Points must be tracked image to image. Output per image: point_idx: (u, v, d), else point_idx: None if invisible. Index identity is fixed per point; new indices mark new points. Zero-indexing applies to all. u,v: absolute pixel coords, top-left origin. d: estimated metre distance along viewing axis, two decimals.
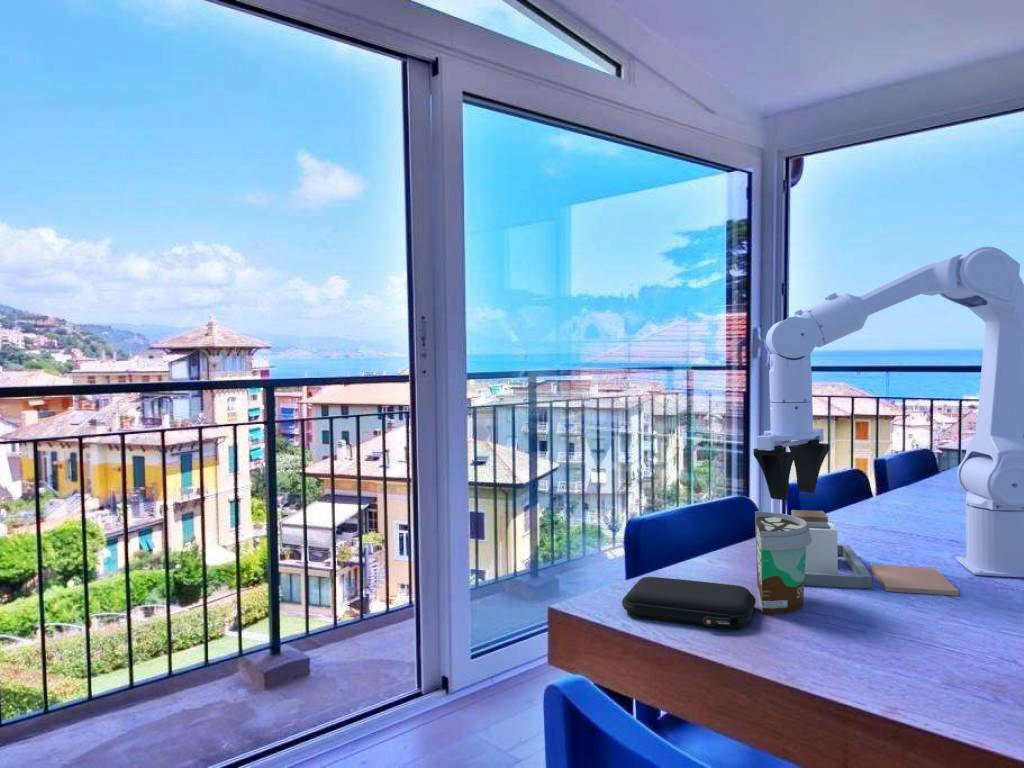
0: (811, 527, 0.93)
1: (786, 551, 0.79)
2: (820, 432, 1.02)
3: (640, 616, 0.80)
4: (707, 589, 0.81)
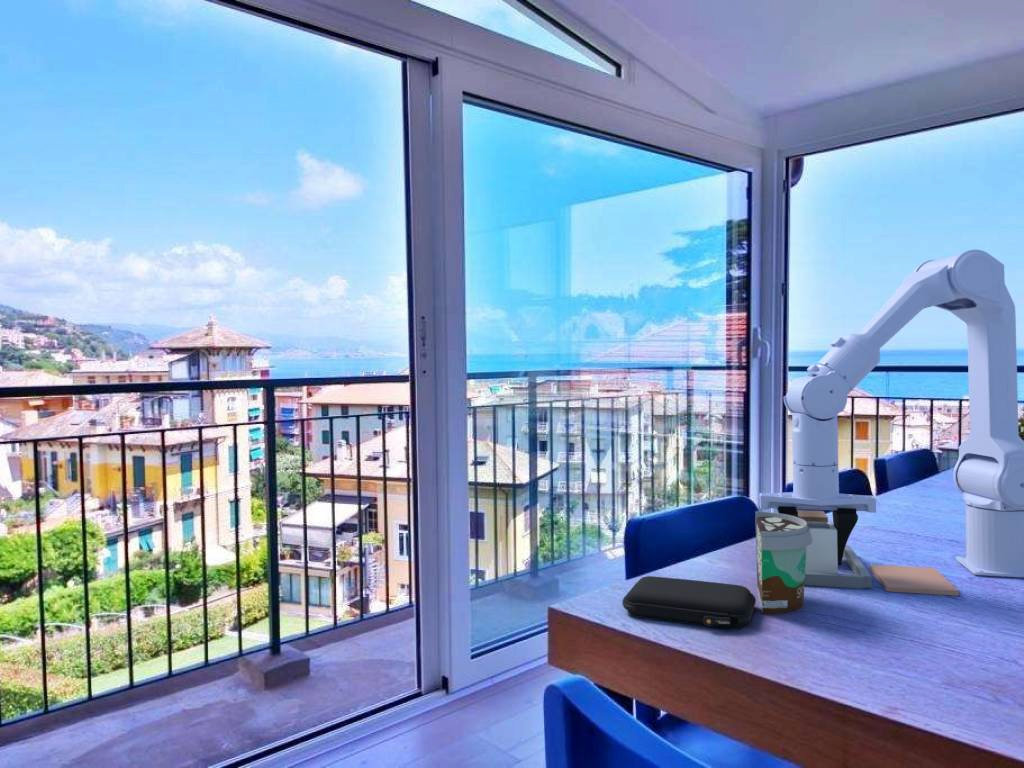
0: (811, 527, 0.93)
1: (786, 551, 0.79)
2: (866, 501, 0.91)
3: (640, 616, 0.80)
4: (707, 589, 0.82)
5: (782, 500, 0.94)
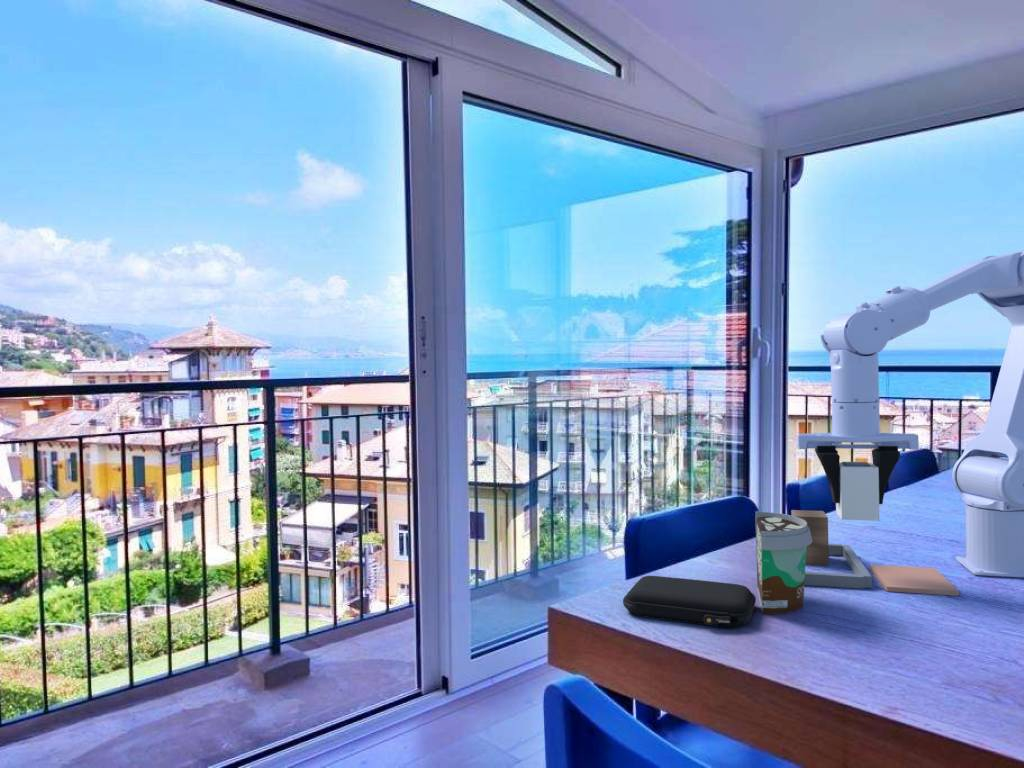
0: (851, 465, 0.91)
1: (786, 551, 0.79)
2: (908, 438, 0.89)
3: (641, 615, 0.81)
4: (707, 588, 0.82)
5: (821, 439, 0.92)
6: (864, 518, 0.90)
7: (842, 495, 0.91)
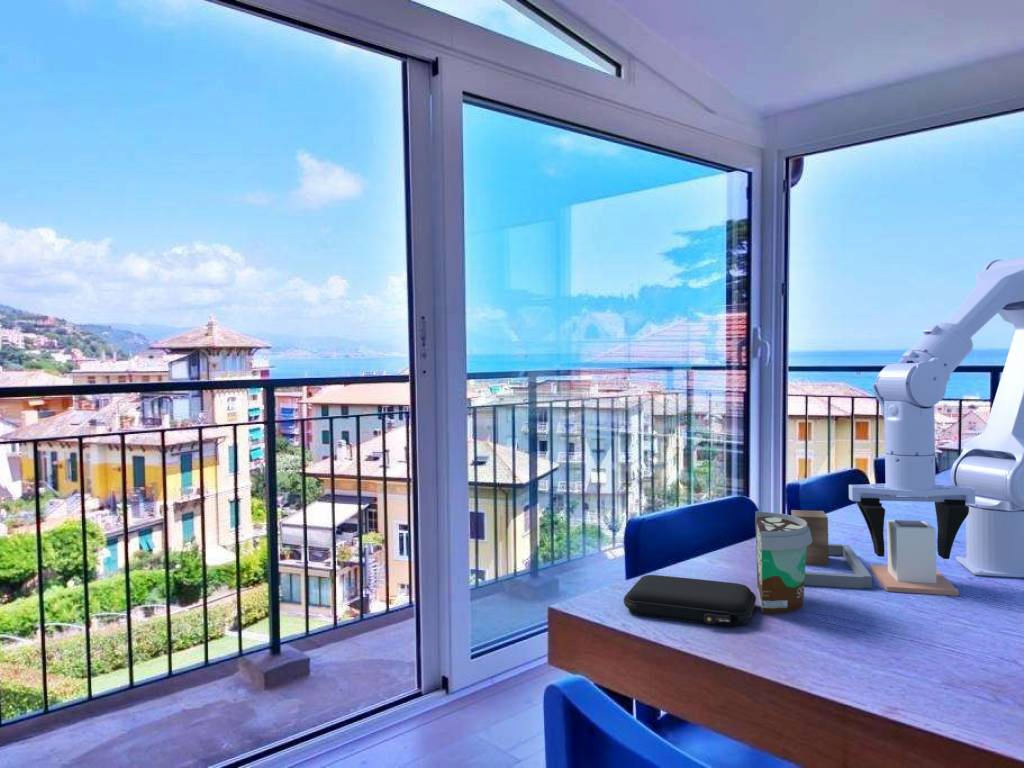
0: (907, 526, 0.89)
1: (786, 551, 0.79)
2: (965, 492, 0.88)
3: (641, 614, 0.81)
4: (708, 587, 0.82)
5: (876, 492, 0.90)
6: (921, 580, 0.88)
7: (898, 556, 0.89)
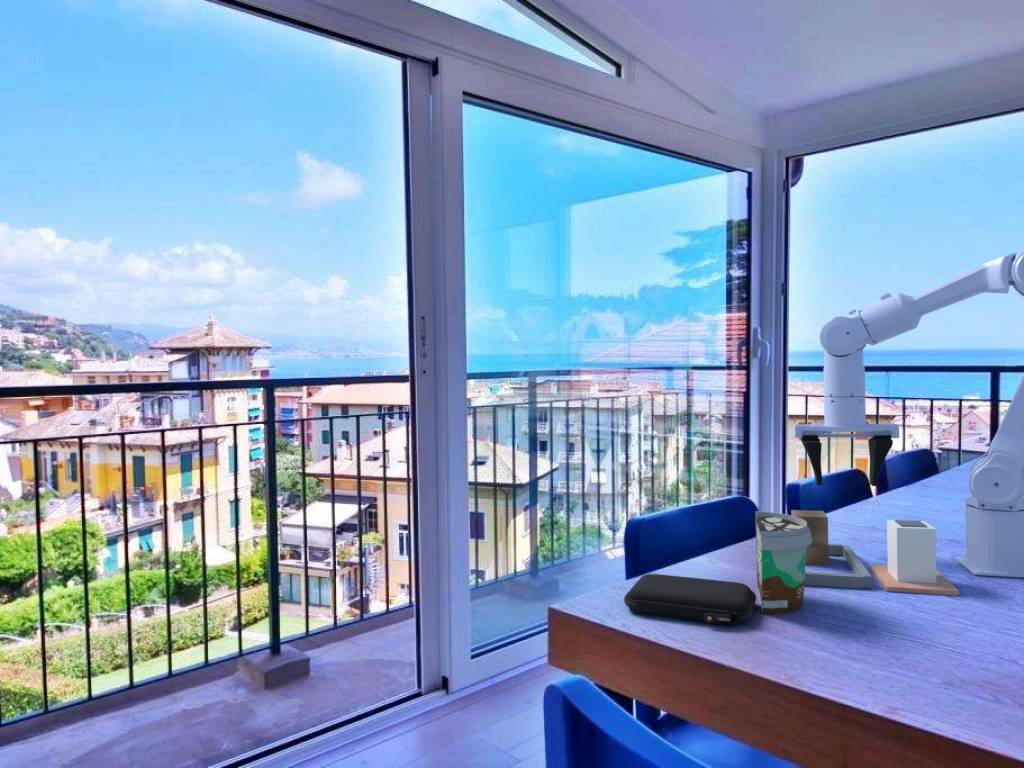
0: (907, 526, 0.89)
1: (786, 551, 0.79)
2: (890, 428, 1.02)
3: (642, 613, 0.81)
4: (708, 586, 0.83)
5: (815, 429, 1.05)
6: (921, 580, 0.88)
7: (898, 556, 0.89)
